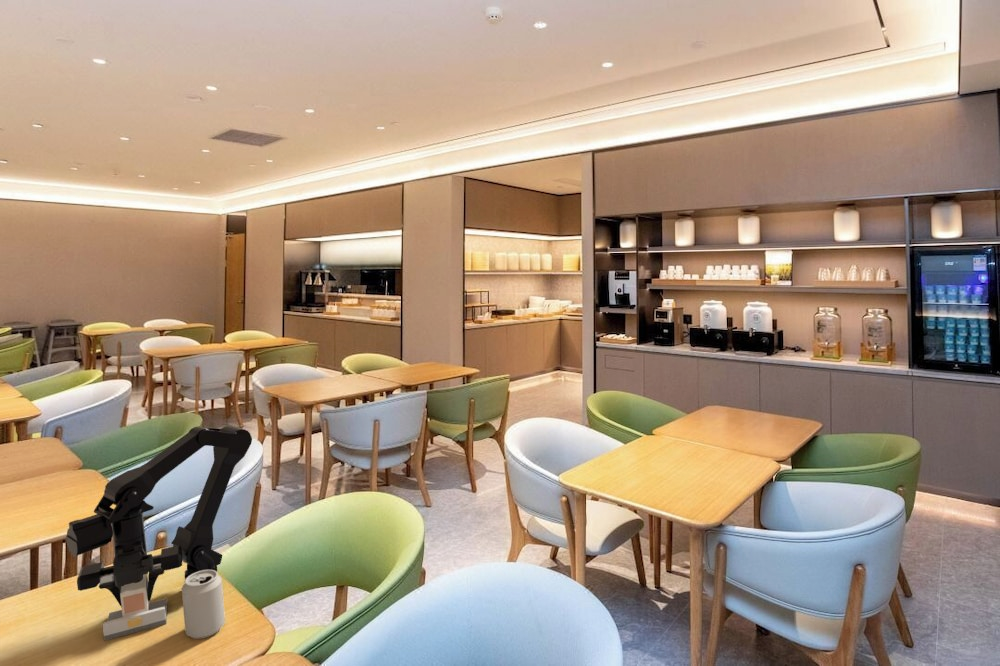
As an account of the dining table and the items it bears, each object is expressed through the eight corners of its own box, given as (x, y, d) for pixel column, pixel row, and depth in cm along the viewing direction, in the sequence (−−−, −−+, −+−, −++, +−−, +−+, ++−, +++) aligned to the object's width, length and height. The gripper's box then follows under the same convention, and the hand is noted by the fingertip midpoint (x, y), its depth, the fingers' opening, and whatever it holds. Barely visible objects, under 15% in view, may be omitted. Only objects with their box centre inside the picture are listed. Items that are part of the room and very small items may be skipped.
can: (209, 643, 116) (204, 588, 114) (177, 639, 117) (172, 584, 116) (233, 620, 123) (228, 568, 121) (202, 616, 124) (198, 565, 123)
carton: (126, 604, 125) (123, 578, 125) (149, 598, 127) (147, 573, 127) (122, 620, 119) (120, 594, 119) (147, 614, 122) (145, 588, 121)
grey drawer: (167, 602, 130) (166, 588, 130) (165, 624, 122) (164, 609, 121) (109, 617, 125) (108, 602, 124) (104, 641, 117) (102, 625, 116)
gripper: (68, 564, 110) (77, 638, 112) (178, 540, 119) (184, 609, 121) (78, 540, 120) (86, 609, 122) (179, 519, 129) (185, 584, 131)
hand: (136, 603), depth 123 cm, fingers closed on carton, 4 cm apart
